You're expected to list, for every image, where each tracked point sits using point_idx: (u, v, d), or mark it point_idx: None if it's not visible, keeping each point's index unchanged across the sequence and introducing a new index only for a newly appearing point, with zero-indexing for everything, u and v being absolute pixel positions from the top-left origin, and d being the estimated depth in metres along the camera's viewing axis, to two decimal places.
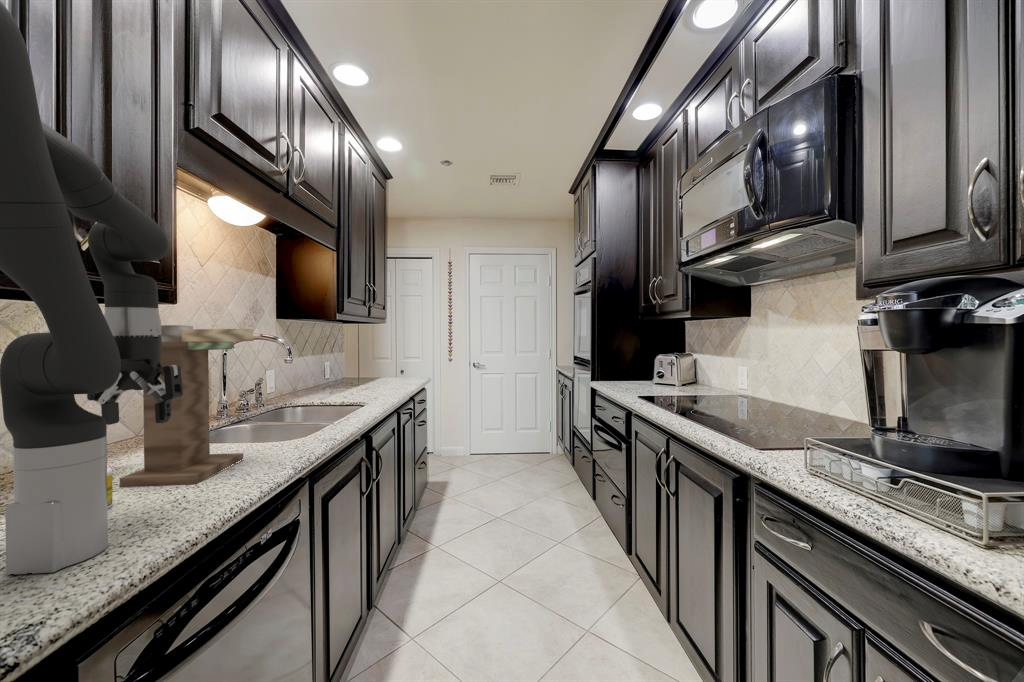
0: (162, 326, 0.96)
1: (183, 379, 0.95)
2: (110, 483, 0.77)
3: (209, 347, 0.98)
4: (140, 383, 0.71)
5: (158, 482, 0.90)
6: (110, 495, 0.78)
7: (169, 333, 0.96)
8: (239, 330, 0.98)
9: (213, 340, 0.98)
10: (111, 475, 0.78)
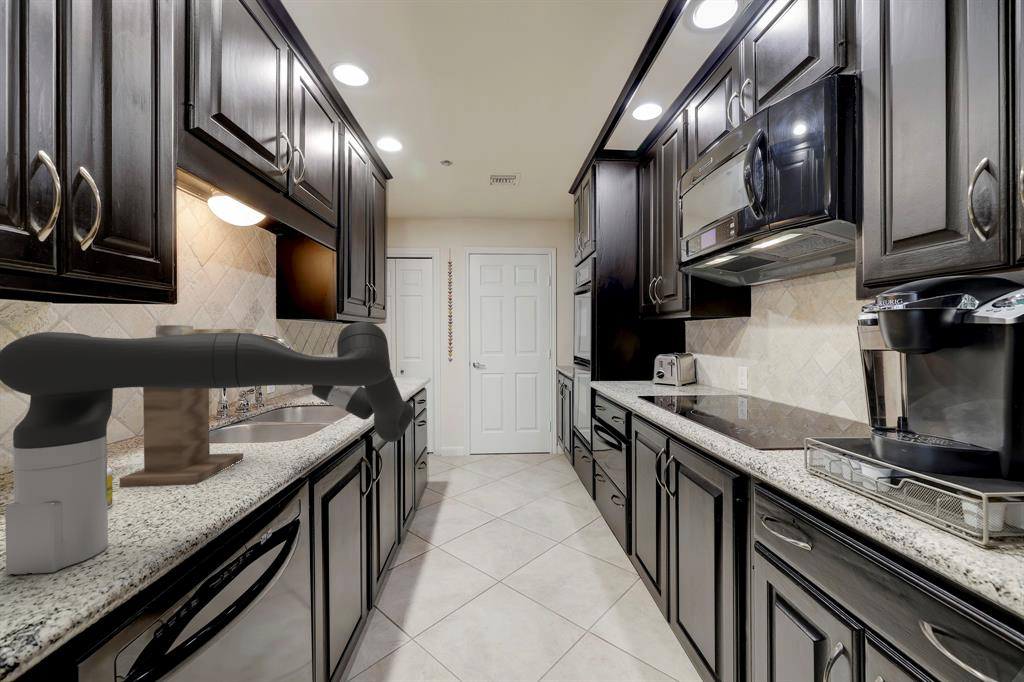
0: (162, 326, 0.96)
1: None
2: (110, 483, 0.77)
3: None
4: None
5: (158, 482, 0.90)
6: (110, 495, 0.78)
7: (169, 333, 0.96)
8: (239, 330, 0.98)
9: None
10: (111, 475, 0.78)
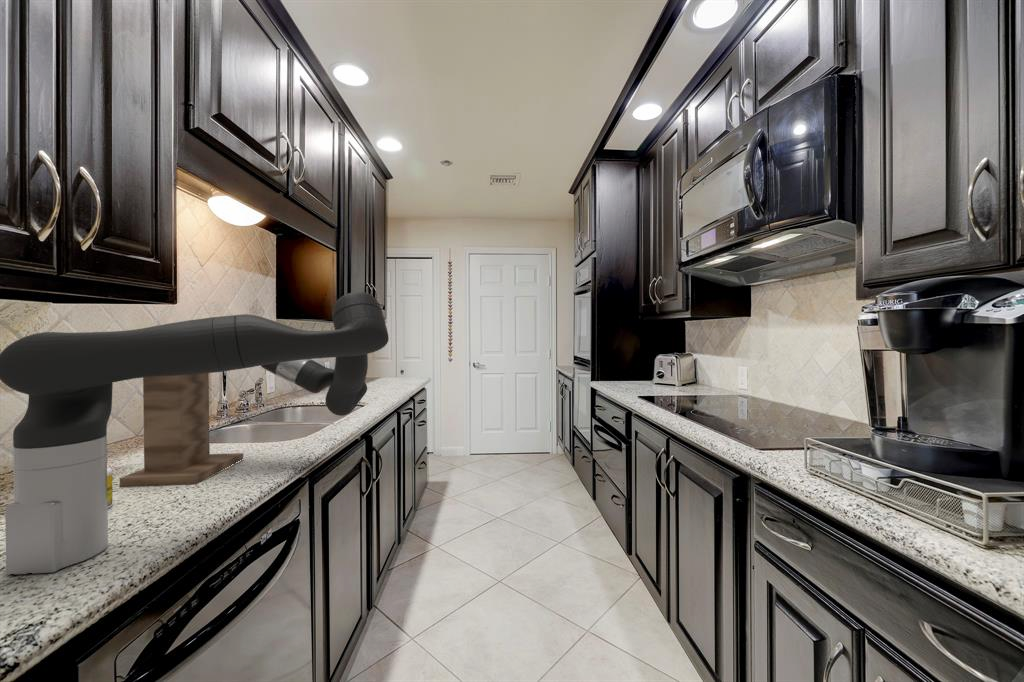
0: None
1: (183, 379, 0.95)
2: (110, 483, 0.77)
3: None
4: None
5: (158, 482, 0.90)
6: (110, 495, 0.78)
7: None
8: None
9: None
10: (111, 475, 0.78)
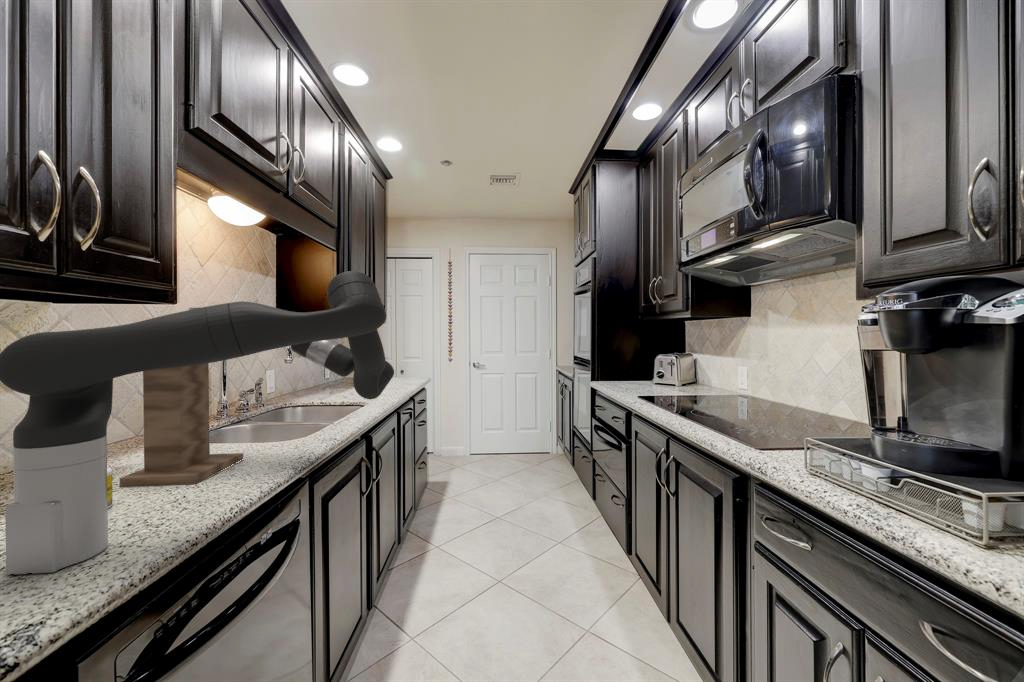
0: (195, 308, 0.98)
1: (183, 379, 0.95)
2: (110, 483, 0.77)
3: None
4: None
5: (158, 482, 0.90)
6: (110, 495, 0.78)
7: None
8: None
9: None
10: (111, 475, 0.78)
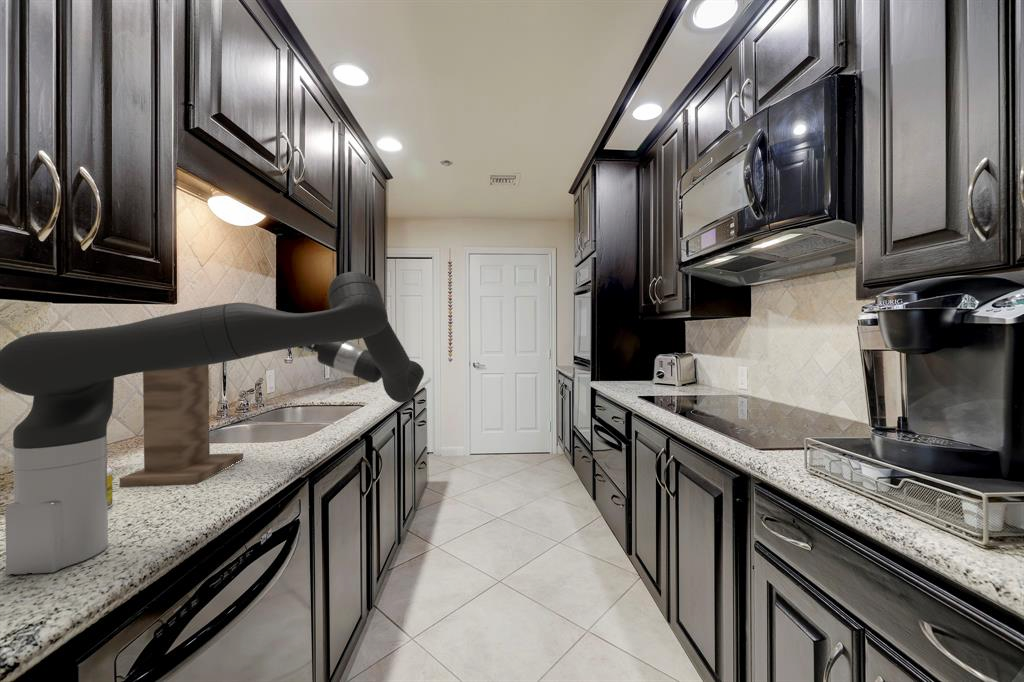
0: None
1: (183, 379, 0.95)
2: (110, 483, 0.77)
3: None
4: None
5: (158, 482, 0.90)
6: (110, 495, 0.78)
7: None
8: None
9: None
10: (111, 475, 0.78)
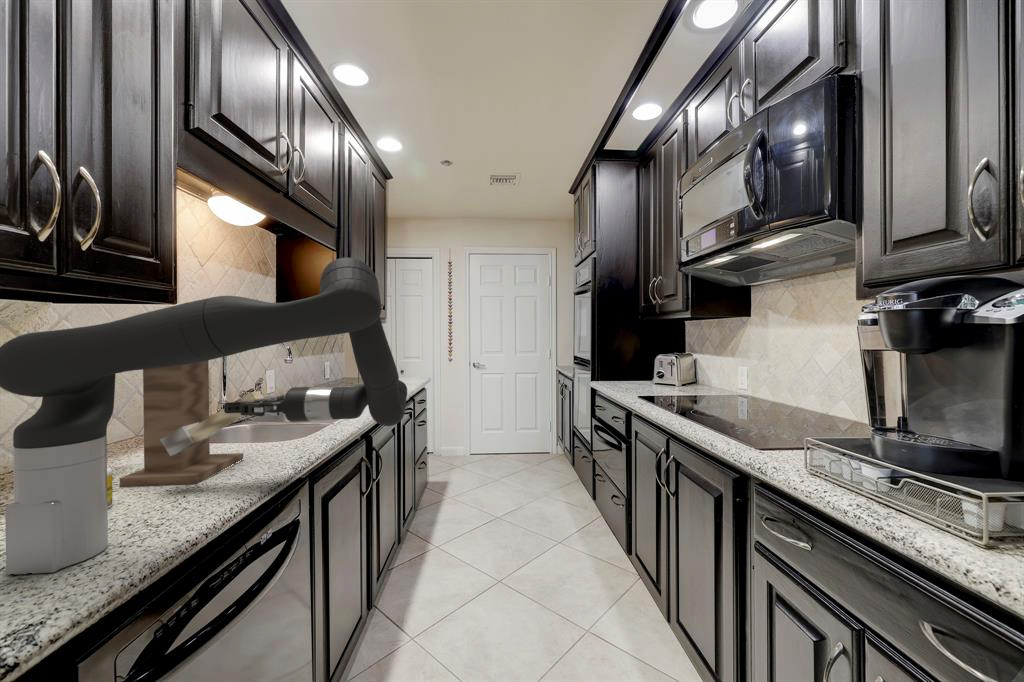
0: (167, 436, 0.84)
1: (183, 379, 0.95)
2: (110, 483, 0.77)
3: None
4: None
5: (158, 482, 0.90)
6: (110, 495, 0.78)
7: (178, 439, 0.84)
8: (245, 398, 0.86)
9: (226, 422, 0.86)
10: (111, 475, 0.78)
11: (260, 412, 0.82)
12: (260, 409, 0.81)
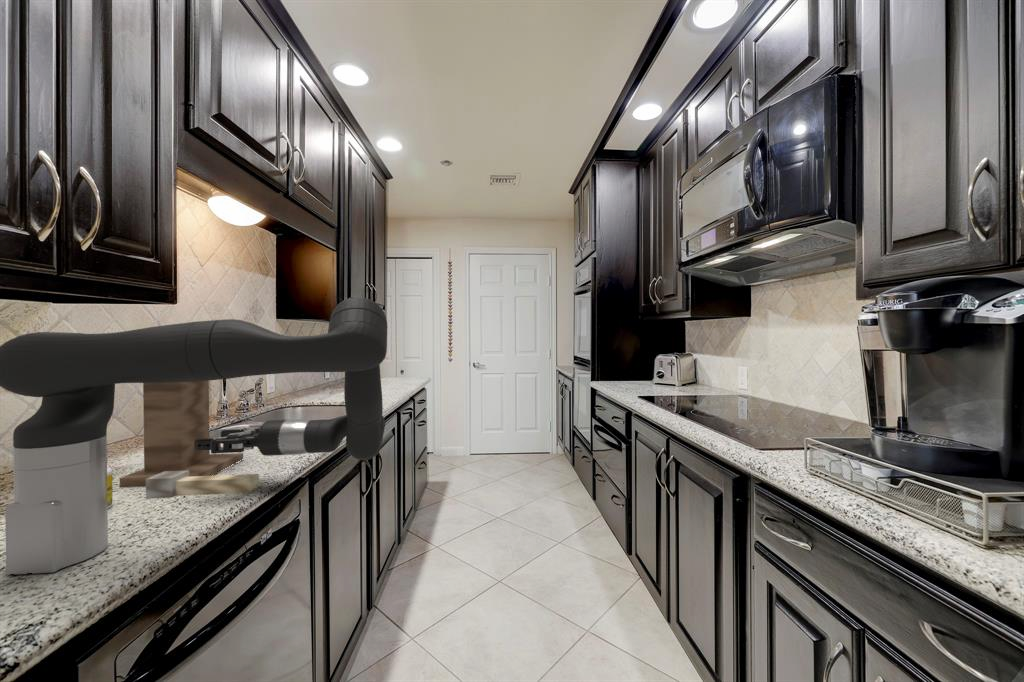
0: (153, 480, 0.83)
1: None
2: (110, 483, 0.77)
3: None
4: None
5: None
6: (110, 495, 0.78)
7: (161, 488, 0.83)
8: (242, 480, 0.85)
9: (212, 493, 0.84)
10: (111, 475, 0.78)
11: (241, 448, 0.80)
12: (241, 445, 0.80)
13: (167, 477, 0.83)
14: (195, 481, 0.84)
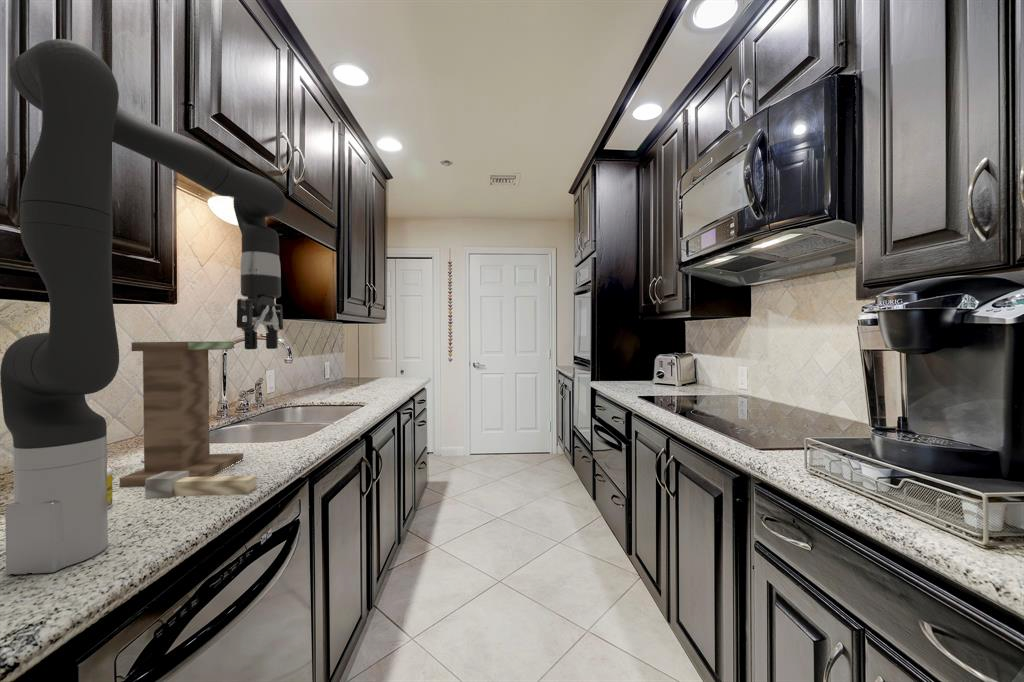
0: (152, 480, 0.83)
1: (183, 379, 0.95)
2: (110, 483, 0.77)
3: (209, 347, 0.98)
4: (274, 316, 0.91)
5: None
6: (110, 495, 0.78)
7: (160, 488, 0.83)
8: (240, 482, 0.84)
9: (210, 494, 0.84)
10: (111, 475, 0.78)
11: (246, 300, 0.82)
12: (243, 299, 0.82)
13: (166, 477, 0.83)
14: (193, 482, 0.84)
